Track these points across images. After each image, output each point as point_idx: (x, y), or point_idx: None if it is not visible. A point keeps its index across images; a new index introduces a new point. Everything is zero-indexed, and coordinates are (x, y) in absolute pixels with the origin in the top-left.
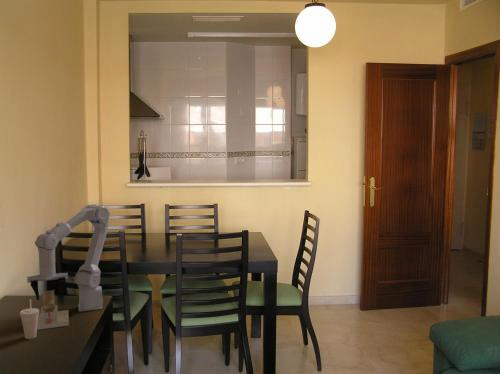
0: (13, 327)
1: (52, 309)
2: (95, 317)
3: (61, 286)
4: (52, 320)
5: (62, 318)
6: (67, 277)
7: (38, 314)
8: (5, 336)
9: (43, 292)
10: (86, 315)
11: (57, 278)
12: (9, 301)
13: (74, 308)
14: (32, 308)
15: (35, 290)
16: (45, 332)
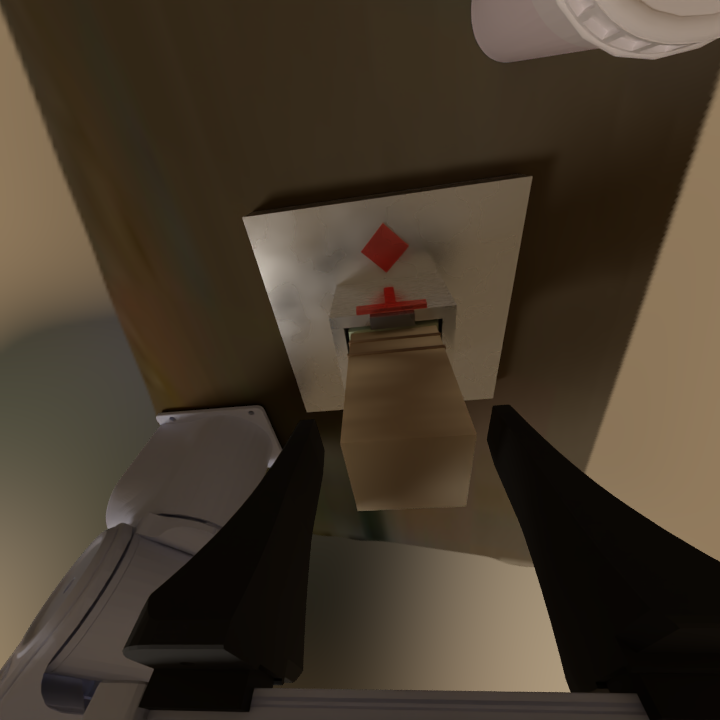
0: (598, 279)
1: (365, 330)
2: (136, 315)
3: (232, 531)
4: (366, 278)
5: (307, 299)
6: (87, 717)
7: None
8: (707, 94)
9: (463, 483)
10: (205, 355)
11: (270, 712)
12: None
13: None
14: (667, 12)
15: (595, 499)
16: (398, 99)
